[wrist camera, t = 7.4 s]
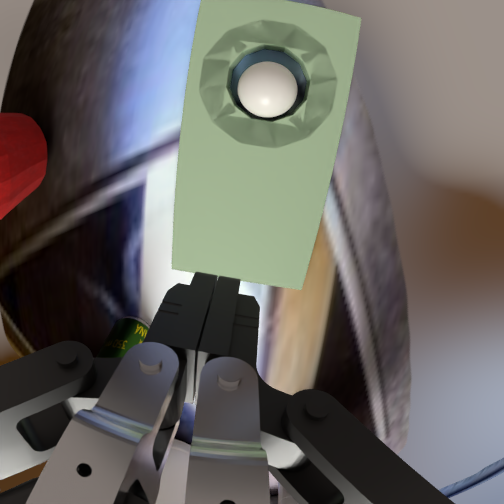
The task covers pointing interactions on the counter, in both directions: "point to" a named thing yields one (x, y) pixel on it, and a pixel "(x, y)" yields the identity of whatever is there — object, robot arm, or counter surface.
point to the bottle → (174, 475)
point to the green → (259, 142)
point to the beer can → (124, 337)
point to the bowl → (273, 499)
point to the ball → (267, 89)
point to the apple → (20, 159)
